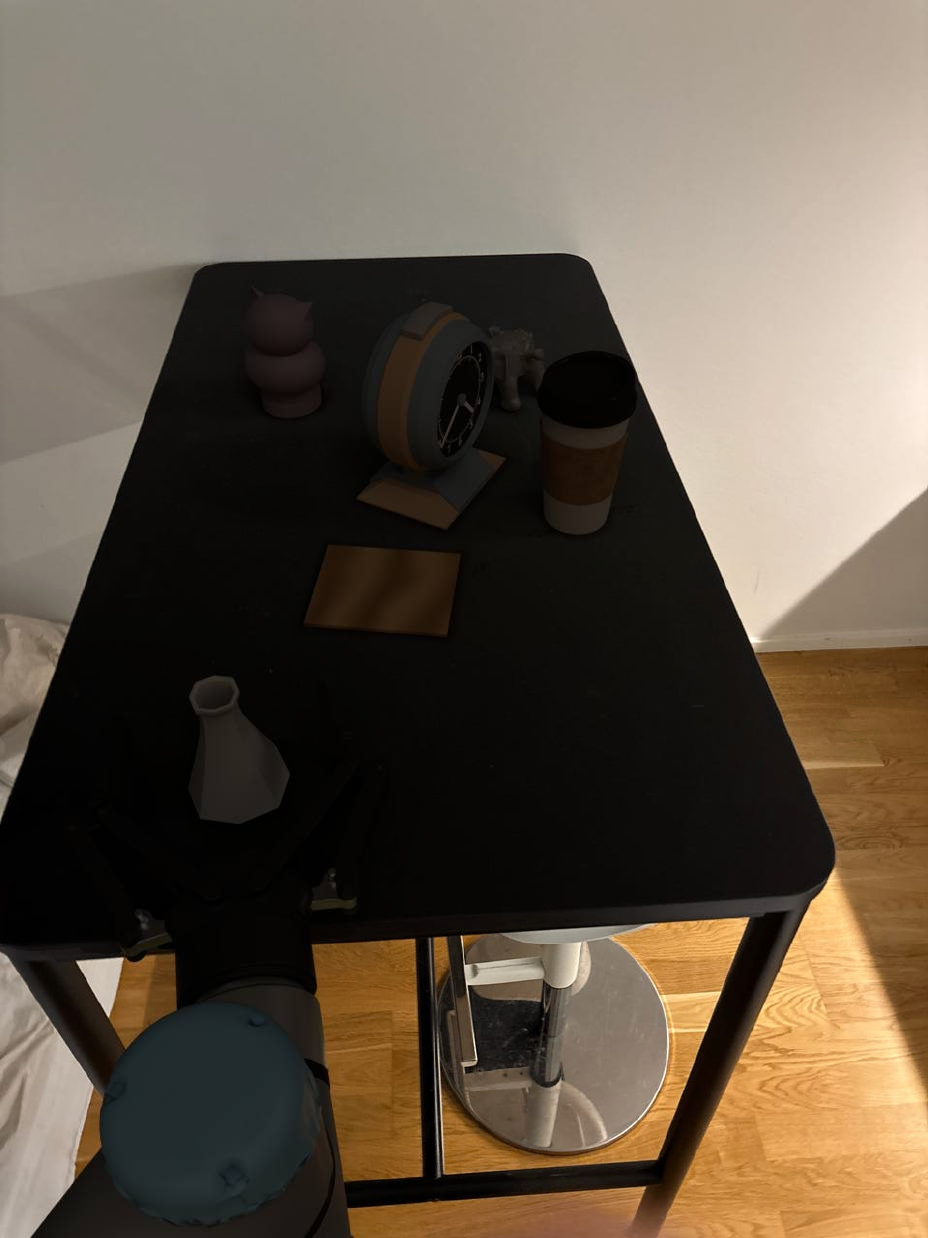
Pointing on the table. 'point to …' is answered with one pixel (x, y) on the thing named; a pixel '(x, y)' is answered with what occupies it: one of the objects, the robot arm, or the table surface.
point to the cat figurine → (283, 354)
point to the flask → (232, 758)
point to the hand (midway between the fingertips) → (224, 711)
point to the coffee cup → (583, 436)
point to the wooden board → (384, 590)
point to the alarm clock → (429, 414)
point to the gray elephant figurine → (514, 362)
